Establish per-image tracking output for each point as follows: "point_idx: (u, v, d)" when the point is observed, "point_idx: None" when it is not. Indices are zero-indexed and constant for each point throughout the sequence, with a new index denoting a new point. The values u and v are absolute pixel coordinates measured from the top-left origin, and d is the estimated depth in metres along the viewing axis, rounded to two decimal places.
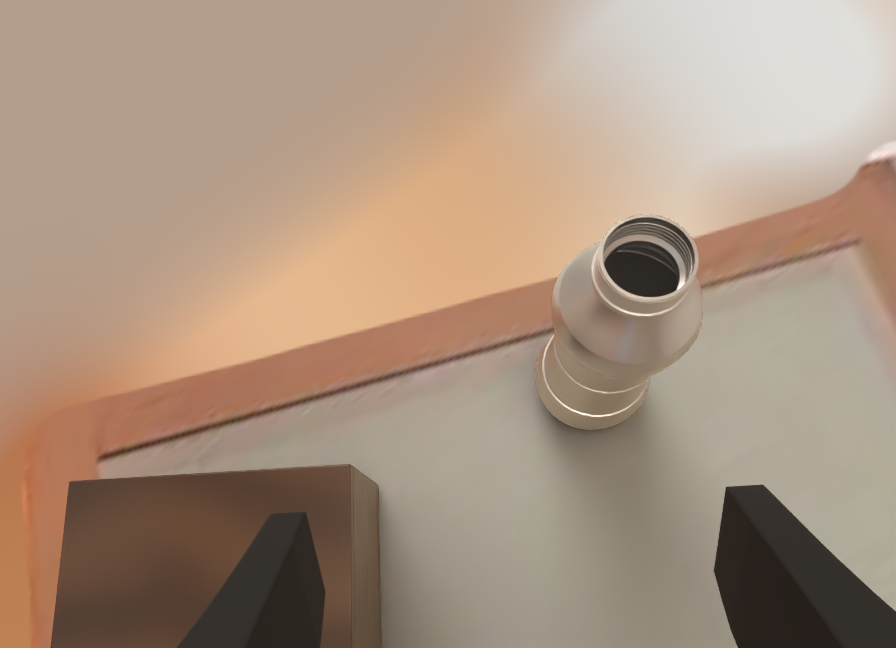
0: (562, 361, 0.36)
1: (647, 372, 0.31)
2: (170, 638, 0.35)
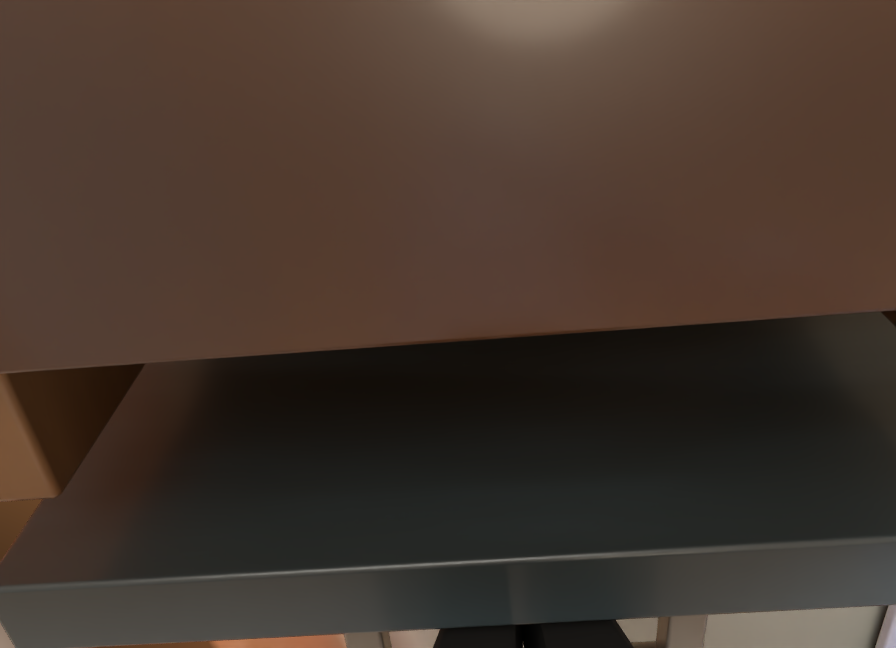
0: None
1: None
2: None
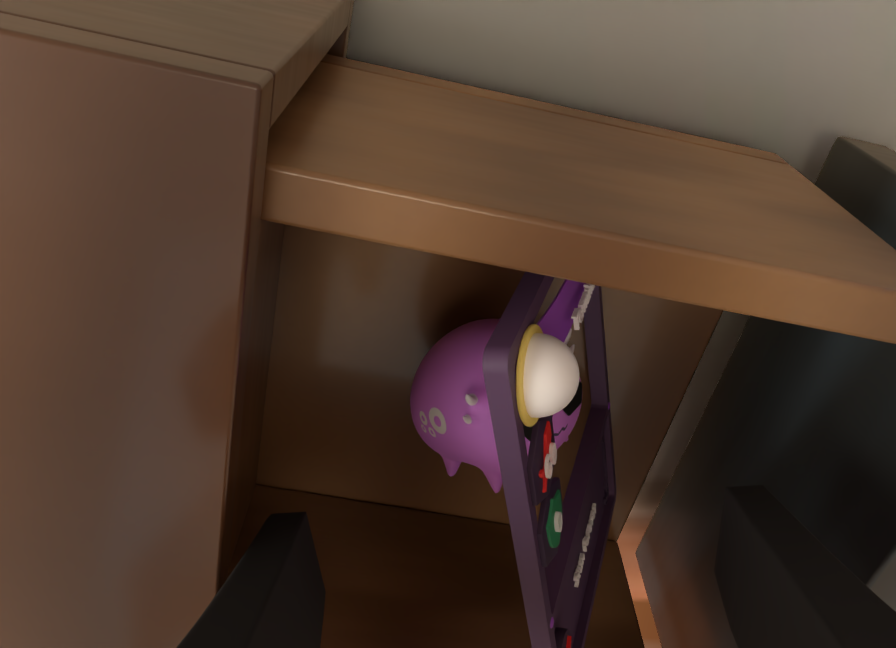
0: None
1: None
2: None
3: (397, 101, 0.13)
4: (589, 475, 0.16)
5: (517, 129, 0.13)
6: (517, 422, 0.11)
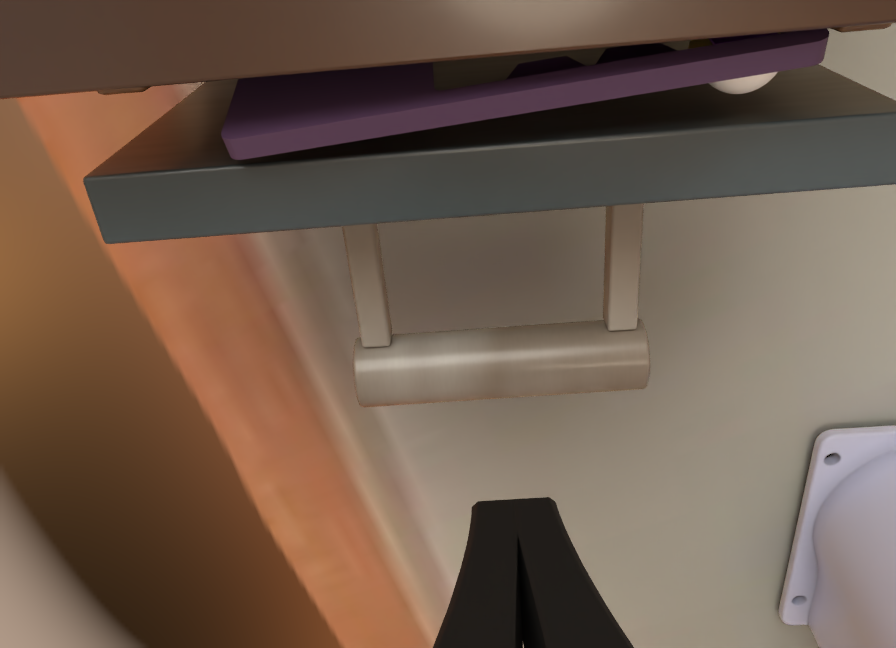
0: None
1: None
2: None
3: None
4: None
5: None
6: (741, 73, 0.11)
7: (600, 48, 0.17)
